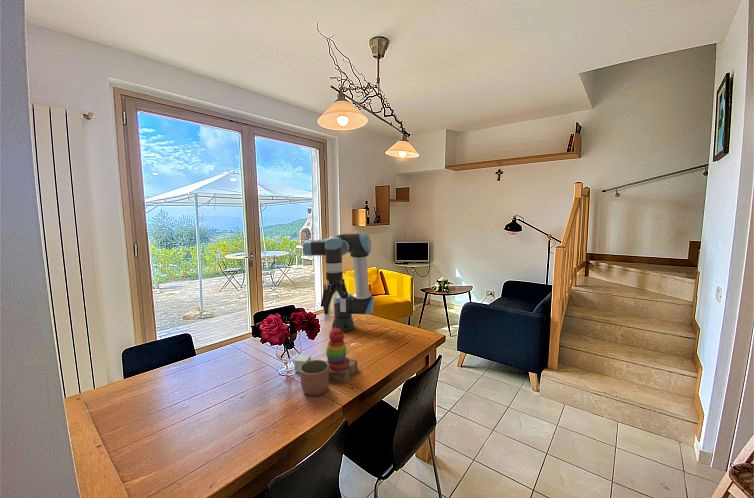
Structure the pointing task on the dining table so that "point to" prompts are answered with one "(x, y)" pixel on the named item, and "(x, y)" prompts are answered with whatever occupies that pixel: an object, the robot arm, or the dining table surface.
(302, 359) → the block
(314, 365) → the planter
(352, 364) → the plinth
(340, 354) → the stacking bear
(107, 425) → the dining table surface
